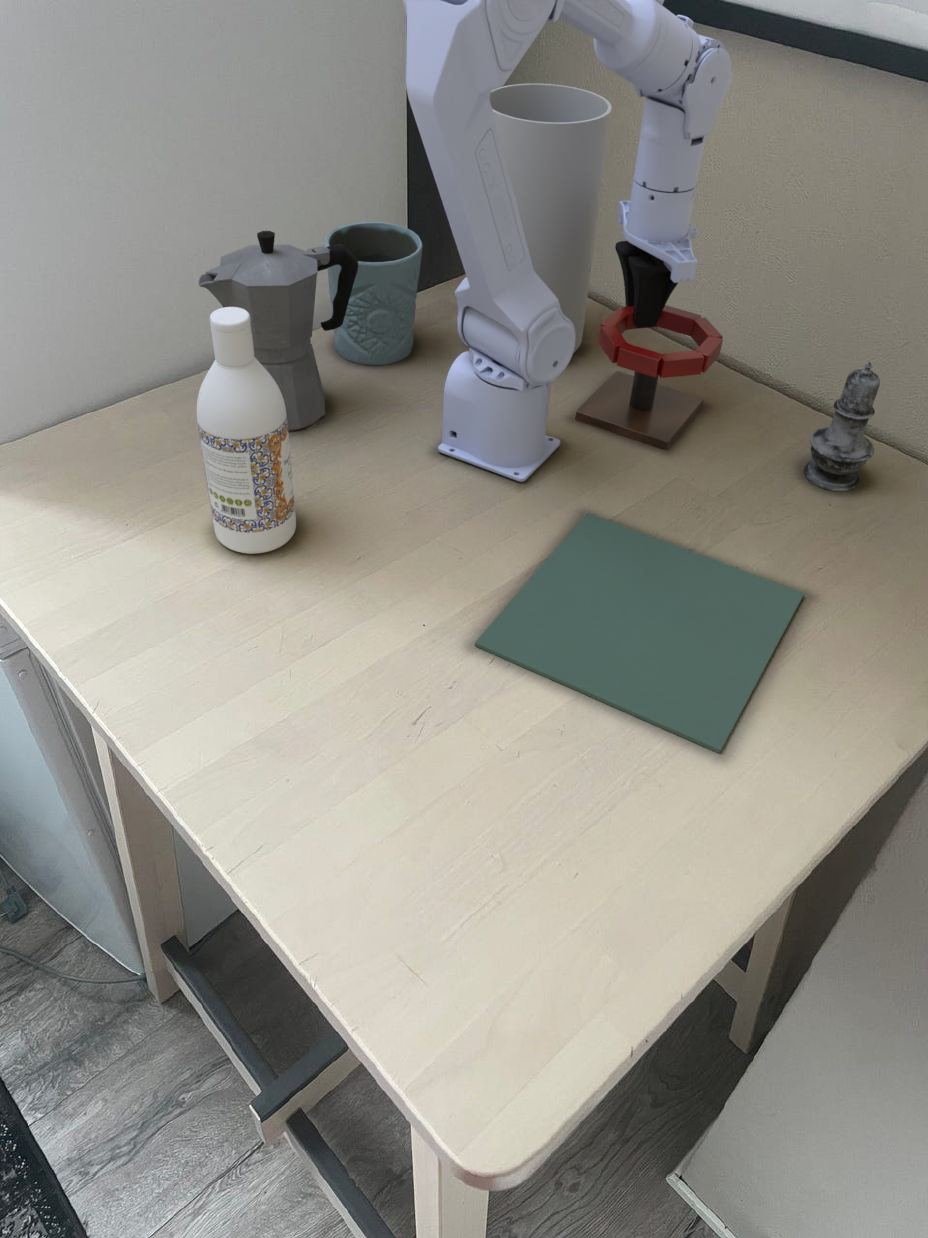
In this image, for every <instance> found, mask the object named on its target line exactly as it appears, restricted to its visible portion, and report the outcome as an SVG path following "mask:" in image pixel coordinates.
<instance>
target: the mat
mask: <svg viewBox="0 0 928 1238" xmlns="http://www.w3.org/2000/svg"><path fill="white" fill-rule="evenodd" d="M804 597H805V592H804V591H800V590H797V589H795V588H792V587H789V586H786V585H784V584H781V583H779V582H776V581H773V580H770V579H768V578H765V577H762V576H760V575H757V574H754V573H751V572H749V571H747V570H743V569H741V568H739V567H735V566H732V565H731V564H726V563H724V562H723V561H719V560H717V559H713V558H711V557H708V556H705V555H703V554H700V553H697V552H695V551H692V550H690V549H687V548H684V547H681V546H678V545H677V544H673V543H670V542H668V541H665V540H663V539H659V538H657V537H655V536H651V535H649V534H646V533H644V532H641V531H639V530H636V529H633V528H630V527H627V526H624V525H622V524H619V523H616V522H614V521H611V520H608V519H606V518H603V517H600V516H598V515H595V514H593V513H590V512H586V513H585V514H583V516H582V517H581V518H580V520H579V521H578V522H577V523H576V524H575V526H574V527H573V528H572V529H571V530H570V531H569V533H568V534H567V535H566V536H565V537H564V538H563V540H562V541H560V543H559V544H558V545H557V546H556V547H555V548H554V550H553V551H552V552H551V553H550V555H549V556H548V557H547V558H546V559H545V561H543V563H542V564H541V565H540V566H539V567H538V569H536V570H535V572H534V573H533V574H532V575H531V577H530V578H529V579H528V580H527V582H526V583H524V584H523V586H522V587H521V589H519V590H518V592H517V593H516V594H515V595H514V596H513V597H512V598H511V600H510V601H509V602H508V603H507V604H506V606H505V607H504V608H503V609H502V611H500V612H499V614H498V615H497V616H496V617H495V619H493V621H492V622H491V623H490V624H489V625H488V627H487V628H486V629H485V630H484V631H483V632H482V634H481V635H480V636H479V637H478V638H477V639H476V641H474V646H475V647H476V648H479V649H480V650H483V651H485V652H488V653H490V654H492V655H495V656H497V657H499V658H501V659H504V660H505V661H508V662H510V663H513V664H515V665H517V666H519V667H522V668H524V669H526V670H529V671H531V672H533V673H535V674H538V675H540V676H542V677H543V678H544V677H545V678H547V679H549V680H551V681H554V682H556V683H558V684H560V685H562V686H565V687H566V688H567V687H568V688H569V689H572V690H574V691H576V692H579V693H581V694H582V695H585V696H588V697H590V698H592V699H594V700H596V701H599V702H601V703H604V704H606V705H608V706H610V707H613V708H615V709H617V710H620V711H622V712H624V713H627V714H629V715H631V716H633V717H635V718H638V719H640V720H642V721H645V722H647V723H649V724H651V725H654V726H656V727H657V728H661V729H662V730H665V731H667V732H670V733H671V734H674V735H676V736H679V737H681V738H682V739H686V740H687V741H690V742H692V743H695V744H696V745H700V746H701V747H704V748H706V749H708V750H711V751H712V752H715V753H717V754H721V752H722V751H723V748H724V747H725V745H726V743H727V741H728V739H729V738H730V736H731V733H732V732H733V730H734V728H735V726H736V724H737V722H738V721H739V719H740V717H741V715H742V713H743V711H744V709H745V707H746V705H747V704H748V701H749V700H750V698H751V696H752V694H753V692H754V691H755V688H756V686H757V685H758V683H759V681H760V679H761V677H762V675H763V673H764V672H765V670H766V668H767V666H768V664H769V662H770V660H771V658H772V656H773V655H774V653H775V651H776V649H777V647H778V645H779V643H780V641H781V639H782V638H783V635H784V634H785V632H786V630H787V628H788V626H789V624H790V623H791V620H792V619H793V617H794V616H795V613H796V611H797V609H798V607H799V606H800V604H801V602H802V600H803V598H804Z"/></svg>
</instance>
